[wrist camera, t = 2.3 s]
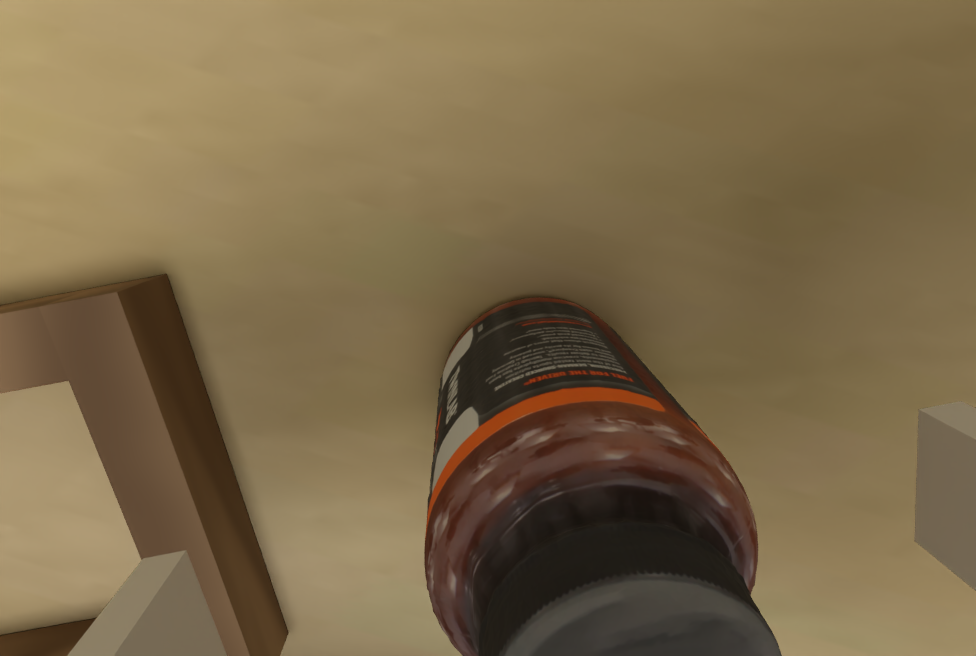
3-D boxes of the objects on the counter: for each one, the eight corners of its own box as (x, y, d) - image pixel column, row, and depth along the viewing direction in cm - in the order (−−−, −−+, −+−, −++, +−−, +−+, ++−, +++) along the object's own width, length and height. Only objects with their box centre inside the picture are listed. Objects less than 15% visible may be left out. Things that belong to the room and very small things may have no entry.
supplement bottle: (402, 357, 18) (305, 657, 7) (569, 254, 17) (747, 407, 6) (503, 500, 19) (553, 931, 8) (661, 410, 19) (934, 752, 8)
